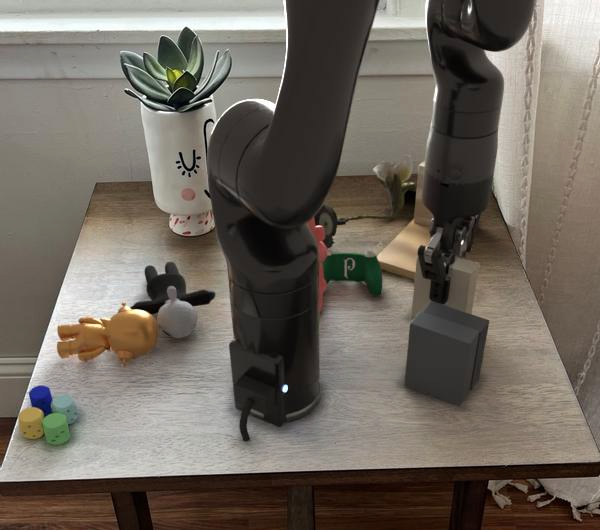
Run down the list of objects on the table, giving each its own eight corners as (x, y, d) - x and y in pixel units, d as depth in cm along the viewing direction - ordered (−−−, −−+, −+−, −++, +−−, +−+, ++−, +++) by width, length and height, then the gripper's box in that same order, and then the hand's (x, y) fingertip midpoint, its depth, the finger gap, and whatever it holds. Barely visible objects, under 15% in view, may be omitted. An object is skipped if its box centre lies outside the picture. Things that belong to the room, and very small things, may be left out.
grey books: (460, 406, 92) (470, 343, 86) (404, 385, 95) (409, 323, 89) (479, 378, 95) (490, 316, 89) (424, 358, 98) (431, 297, 92)
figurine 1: (65, 381, 100) (164, 373, 99) (49, 363, 94) (153, 354, 94) (67, 318, 102) (163, 309, 102) (51, 296, 97) (152, 288, 96)
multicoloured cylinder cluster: (57, 393, 95) (5, 418, 92) (52, 376, 93) (-1, 401, 90) (92, 431, 90) (38, 459, 87) (88, 414, 88) (33, 442, 85)
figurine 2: (121, 292, 110) (138, 355, 99) (113, 253, 106) (130, 315, 95) (202, 277, 112) (228, 337, 101) (197, 239, 109) (223, 297, 98)
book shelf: (426, 283, 110) (433, 216, 103) (373, 266, 113) (376, 200, 106) (476, 225, 120) (486, 160, 113) (426, 211, 123) (433, 147, 116)
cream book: (462, 334, 101) (471, 273, 95) (411, 317, 104) (416, 257, 98) (470, 324, 103) (479, 263, 97) (419, 307, 106) (425, 247, 100)
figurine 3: (304, 324, 104) (303, 219, 93) (279, 305, 107) (275, 202, 96) (335, 308, 106) (337, 204, 96) (309, 290, 109) (308, 188, 99)
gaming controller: (381, 299, 110) (383, 255, 110) (381, 294, 106) (384, 248, 107) (312, 296, 111) (315, 253, 111) (310, 291, 107) (313, 246, 107)
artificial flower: (294, 242, 120) (288, 172, 116) (410, 211, 131) (408, 146, 127) (331, 253, 113) (326, 179, 109) (449, 219, 124) (449, 152, 120)
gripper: (454, 132, 95) (439, 259, 107) (399, 182, 86) (390, 315, 98) (516, 146, 92) (493, 275, 104) (466, 200, 83) (448, 335, 95)
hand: (443, 294), depth 101 cm, fingers closed on cream book, 2 cm apart
